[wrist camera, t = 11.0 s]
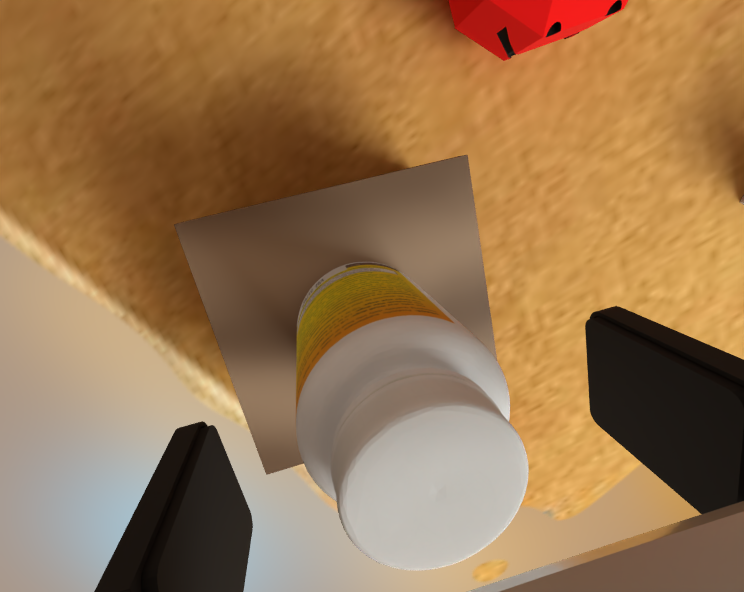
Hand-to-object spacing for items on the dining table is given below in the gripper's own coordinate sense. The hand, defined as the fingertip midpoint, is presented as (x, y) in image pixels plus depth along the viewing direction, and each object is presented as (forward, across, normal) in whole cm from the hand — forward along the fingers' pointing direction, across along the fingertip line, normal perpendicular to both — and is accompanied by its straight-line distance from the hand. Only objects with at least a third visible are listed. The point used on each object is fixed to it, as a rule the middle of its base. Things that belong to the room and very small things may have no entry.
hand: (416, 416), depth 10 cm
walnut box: (+15, +1, +1) cm, 15 cm away
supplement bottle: (+8, 0, 0) cm, 8 cm away
